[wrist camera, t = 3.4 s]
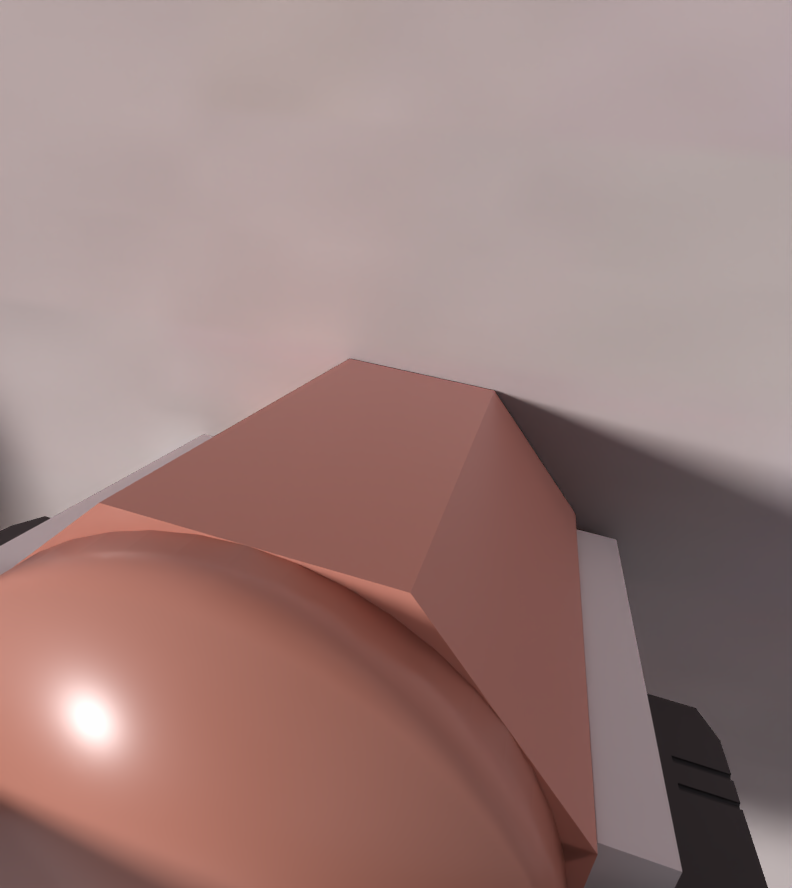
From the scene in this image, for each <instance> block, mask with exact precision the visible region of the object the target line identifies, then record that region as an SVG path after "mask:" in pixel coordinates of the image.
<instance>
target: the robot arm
mask: <svg viewBox="0 0 792 888" xmlns="http://www.w3.org/2000/svg"><path fill="white" fill-rule="evenodd" d="M212 437H213V436H210V435H206V434H203V435H201V436H199V437H198V438H196V439H194V440H192V441H190V442H188V443H187V444H185V445H183V446H181V447H179V448H178V449H176V450H174V451H172V452H170V453H168V454H167V455H165V456H163V457H161V458H159V459H158V460H156V461H154V462H152V463H150V464H148V465H147V466H145V467H143V468H141V469H139V470H138V471H136V472H134V473H132V474H130V475H128V476H127V477H125V478H123V479H121V480H119V481H118V482H116V483H114V484H112V485H110V486H108V487H107V488H105V489H103V490H101V491H99V492H98V493H96V494H94V495H92V496H90V497H88V498H87V499H85V500H83V501H81V502H79V503H78V504H76V505H74V506H72V507H70V508H68V509H67V510H65V511H63V512H61V513H59V514H58V515H56V516H54V517H52V518H49V517H45V516H44V517H41V518H37V519H34V520H30V521H27V522H23V523H20V524H16V525H13V526H10V527H8V528H6V529H4V530H2V531H0V575H1V574H3V573H4V572H6V571H8V570H9V569H11V568H13V567H14V566H15V565H17V564H18V563H19V562H21V561H22V560H23V559H25V558H26V557H27V556H29V555H30V554H31V553H33V552H34V551H35V550H37V549H38V548H39V547H41V546H42V545H43V544H45V543H46V542H47V541H49V540H50V539H51V538H53V537H54V536H55V535H57V534H58V533H59V532H61V531H62V530H63V529H65V528H66V527H67V526H69V525H70V524H71V523H73V522H74V521H75V520H77V519H78V518H79V517H81V516H82V515H83V514H85V513H86V512H87V511H89V510H90V509H91V508H93V507H94V506H95V505H97V504H98V503H99V502H101V501H103V500H105V499H106V498H108V497H110V496H112V495H113V494H115V493H117V492H119V491H120V490H122V489H124V488H125V487H127V486H129V485H131V484H132V483H134V482H136V481H138V480H139V479H141V478H143V477H145V476H146V475H148V474H150V473H152V472H153V471H155V470H157V469H158V468H160V467H162V466H164V465H165V464H167V463H169V462H171V461H172V460H174V459H176V458H178V457H179V456H181V455H183V454H185V453H186V452H188V451H190V450H191V449H193V448H195V447H197V446H198V445H200V444H202V443H204V442H205V441H207V440H209V439H211V438H212ZM576 531H577V546H578V561H579V577H580V592H581V607H582V622H583V638H584V653H585V668H586V684H587V699H588V714H589V729H590V745H591V760H592V775H593V790H594V806H595V821H596V836H597V851H598V855H597V857H596V860H595V862H594V864H593V867H592V869H591V872H590V874H589V876H588V879H587V881H586V884H585V886H584V888H768V887H767V884H766V880H765V877H764V874H763V871H762V868H761V865H760V862H759V859H758V856H757V853H756V850H755V847H754V844H753V841H752V838H751V834H750V831H749V828H748V825H747V822H746V819H745V816H744V813H743V810H740V808H739V806H740V801H739V798H738V795H737V792H736V788H735V785H734V782H733V781H732V780H730V775H731V773H730V770H729V767H728V764H727V761H726V758H725V755H724V752H723V749H722V745H721V742H720V740H719V739H718V737H717V736H716V735H715V733H714V732H713V731H712V729H711V728H710V727H709V725H708V724H707V723H706V721H705V720H704V719H703V717H702V716H701V715H700V713H699V712H698V711H697V709H696V708H693V707H690V706H686V705H683V704H680V703H676V702H673V701H669V700H666V699H663V698H659V697H656V696H653V695H649V694H647V691H646V686H645V681H644V676H643V671H642V666H641V661H640V656H639V651H638V646H637V641H636V636H635V631H634V626H633V621H632V616H631V611H630V606H629V601H628V596H627V591H626V586H625V581H624V576H623V571H622V565H621V560H620V555H619V550H618V545H617V540H616V539H612V538H609V537H605V536H601V535H597V534H593V533H589V532H585V531H581V530H577V529H576Z"/></svg>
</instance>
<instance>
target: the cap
mask: <svg viewBox="0 0 792 888" xmlns="http://www.w3.org/2000/svg"><path fill="white" fill-rule="evenodd" d="M597 855H598V851H597V836H596V821H595V806H594V790H593V775H592V760H591V745H590V729H589V714H588V699H587V684H586V668H585V653H584V638H583V622H582V607H581V592H580V577H579V561H578V546H577V531H576V516H575V513H574V511H573V509H572V508H571V506H570V505H569V503H568V502H567V500H566V499H565V497H564V496H563V494H562V493H561V491H560V490H559V488H558V487H557V485H556V484H555V482H554V481H553V479H552V477H551V476H550V474H549V473H548V471H547V470H546V468H545V467H544V465H543V464H542V462H541V461H540V459H539V458H538V456H537V455H536V453H535V452H534V450H533V449H532V447H531V446H530V444H529V442H528V441H527V439H526V438H525V436H524V435H523V433H522V432H521V430H520V429H519V427H518V426H517V424H516V423H515V421H514V420H513V418H512V417H511V415H510V414H509V412H508V411H507V409H506V407H505V406H504V404H503V403H502V401H501V400H500V398H499V397H498V395H497V394H496V392H495V391H494V390H489V389H485V388H480V387H476V386H471V385H467V384H462V383H458V382H453V381H449V380H444V379H440V378H435V377H431V376H426V375H421V374H417V373H412V372H408V371H403V370H399V369H394V368H390V367H385V366H381V365H376V364H372V363H367V362H363V361H358V360H354V359H348V360H346V361H344V362H343V363H341V364H339V365H337V366H336V367H334V368H332V369H330V370H329V371H327V372H325V373H324V374H322V375H320V376H318V377H317V378H315V379H313V380H311V381H310V382H308V383H306V384H304V385H303V386H301V387H299V388H297V389H296V390H294V391H292V392H291V393H289V394H287V395H285V396H284V397H282V398H280V399H278V400H277V401H275V402H273V403H271V404H270V405H268V406H266V407H264V408H263V409H261V410H259V411H257V412H256V413H254V414H252V415H251V416H249V417H247V418H245V419H244V420H242V421H240V422H238V423H237V424H235V425H233V426H231V427H230V428H228V429H226V430H224V431H223V432H221V433H219V434H218V435H216V436H214V437H212V438H211V439H209V440H207V441H205V442H204V443H202V444H200V445H198V446H197V447H195V448H193V449H191V450H190V451H188V452H186V453H185V454H183V455H181V456H179V457H178V458H176V459H174V460H172V461H171V462H169V463H167V464H165V465H164V466H162V467H160V468H158V469H157V470H155V471H153V472H152V473H150V474H148V475H146V476H145V477H143V478H141V479H139V480H138V481H136V482H134V483H132V484H131V485H129V486H127V487H125V488H124V489H122V490H120V491H119V492H117V493H115V494H113V495H112V496H110V497H108V498H106V499H105V500H103V501H101V502H99V503H98V504H97V505H95V506H94V507H93V508H91V509H90V510H89V511H87V512H86V513H85V514H83V515H82V516H81V517H79V518H78V519H77V520H75V521H74V522H73V523H71V524H70V525H69V526H67V527H66V528H65V529H63V530H62V531H61V532H59V533H58V534H57V535H55V536H54V537H53V538H51V539H50V540H49V541H47V542H46V543H45V544H43V545H42V546H41V547H39V548H38V549H37V550H35V551H34V552H33V553H31V554H30V555H29V556H27V557H26V558H25V559H23V560H22V561H21V562H19V563H18V564H17V565H15V566H14V567H13V568H11V569H9V570H8V571H6V572H4V573H3V574H1V575H0V888H584V886H585V884H586V881H587V879H588V876H589V874H590V872H591V869H592V867H593V864H594V862H595V860H596V857H597Z"/></svg>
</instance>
